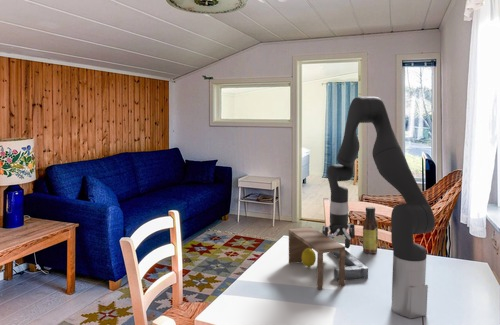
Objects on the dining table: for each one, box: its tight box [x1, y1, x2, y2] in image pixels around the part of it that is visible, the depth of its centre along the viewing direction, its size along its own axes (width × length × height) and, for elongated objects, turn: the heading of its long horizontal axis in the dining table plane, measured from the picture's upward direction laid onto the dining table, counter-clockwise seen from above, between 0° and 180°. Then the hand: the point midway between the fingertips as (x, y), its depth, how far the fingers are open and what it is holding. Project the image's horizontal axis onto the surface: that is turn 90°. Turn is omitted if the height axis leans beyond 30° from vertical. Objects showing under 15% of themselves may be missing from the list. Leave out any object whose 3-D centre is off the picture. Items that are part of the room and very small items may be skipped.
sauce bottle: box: [362, 206, 379, 254], centre depth 164 cm, size 7×6×20 cm
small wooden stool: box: [288, 226, 346, 291], centre depth 141 cm, size 26×10×14 cm, turn 18°
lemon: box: [301, 248, 317, 268], centre depth 148 cm, size 6×6×8 cm
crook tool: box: [330, 249, 369, 282], centre depth 150 cm, size 12×29×4 cm, turn 9°
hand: (338, 249), depth 158 cm, fingers open, 8 cm apart
